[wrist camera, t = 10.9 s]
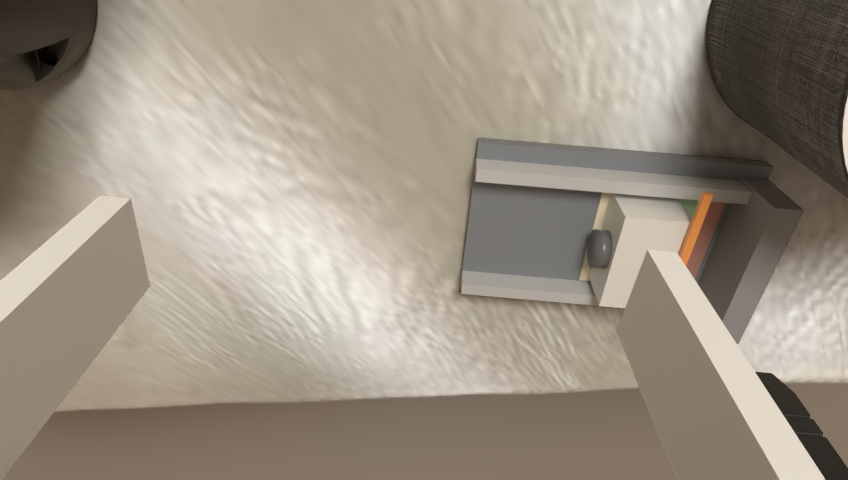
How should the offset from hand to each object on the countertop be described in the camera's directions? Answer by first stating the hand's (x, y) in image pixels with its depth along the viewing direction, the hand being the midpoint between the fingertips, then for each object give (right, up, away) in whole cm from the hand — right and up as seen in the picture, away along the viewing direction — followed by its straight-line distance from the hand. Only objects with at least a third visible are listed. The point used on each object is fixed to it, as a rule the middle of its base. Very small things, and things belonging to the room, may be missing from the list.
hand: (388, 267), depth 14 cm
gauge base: (+16, +2, +31) cm, 35 cm away
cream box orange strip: (+17, +1, +30) cm, 34 cm away
